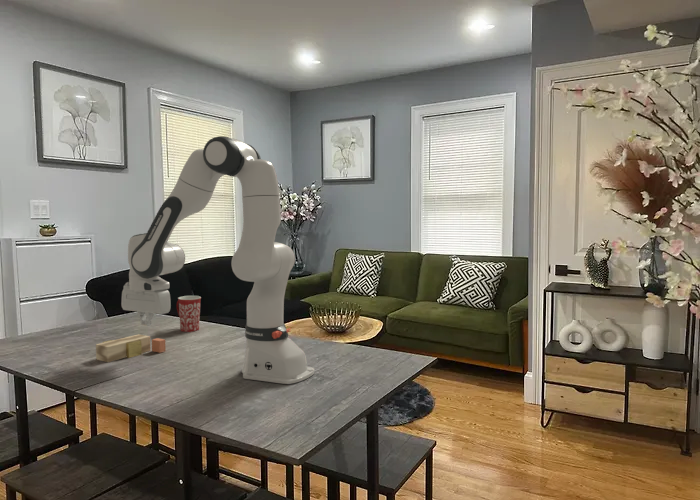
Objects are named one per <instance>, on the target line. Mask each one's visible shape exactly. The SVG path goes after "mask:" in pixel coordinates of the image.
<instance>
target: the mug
mask: <svg viewBox="0 0 700 500" xmlns="http://www.w3.org/2000/svg"><path fill="white" fill-rule="evenodd" d="M177 299H178V300H177V301H176V310H177V311H176V312H177V315H178V318H179V324H180V325H179V327H180V331H181V332H186V333H191V332H196V331H199V330H200V317H201V316H200V315H201V299H202V297H201V296H199V295H184V296H179V297H177Z"/></svg>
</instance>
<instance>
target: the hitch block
mask: <svg viewBox="0 0 700 500" xmlns="http://www.w3.org/2000/svg"><path fill="white" fill-rule="evenodd" d="M112 340H113V341H108V340H107V341H108V342H104V341H103V342H104V343H103V342H100V343H96V344H95V355H96V356H95V357H96V358H95V360H96V361H100V362H101V361H102V362H105V363H111V362H113V361H114V362H115V361H117V360H118V361H119V360H122V359H125V358H127V356H126V343H130V342H134V341H138V340H140V341H141V350H142V354H143V353H147V352H150V351H151V336H149V335H145V334H135V335H129V336H125V337H121V338H117V339H112Z"/></svg>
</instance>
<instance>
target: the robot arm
mask: <svg viewBox="0 0 700 500" xmlns="http://www.w3.org/2000/svg"><path fill="white" fill-rule="evenodd" d="M223 176H228V177H234V178H237V179H238V180H239V182H240V185H241V199H242V201H241V202H242V218H243V219H242V220H243V223H242V232H241V237H240V241H239V244H238V247H237V249H236V251H235V252H234V253H233V256H232V258H231V261H230V263H231V269H232V272H233V274H234V275H235V277H236V278H238V279H239V280H241V281H244V282H251V283H253V287H252V289H251V291H250V293H249V295H248V297H247V299H246V324H245V326H244V327H245V329H244V333H245V338H246V339H245V340H246V343H245V350H244V351H245V353H244V359H243V364H242V368H241V373H242V379H243V380H244V379H245V380H254V381H260V382H261V381H262V382H266V383H267V382H269V383H276V384H283V385H291V384H296V383H299V382H302V381H304V380H306V379H308V378H310V377H311V376H313V375H314V374H315V368H314V367H311V366H308V363H307V356H306V353H305V351H304V350H303V349H302V348H301V347H300V346H298V344H296V342H294V341H293V340H292V339H291V338H290V336H289V333H290V332H292V330H291V329H292V328H291V327H289V328H287V327H286V325H285V323H284V314H285V313H284V310H285V307H284V306H285V305H284V304H285V294H286V289H287V285H288V281H289V277H290V274H291V271H292V269H293V268H294V266H295V263H296V262H295V261H296V256H295V253H294V251H293V249H292V248H291V247H290V246H288V245H286V244H284V243H281V242H278V241H276V234H277V230H278V228H279V227H280V225H281V222H282V214H281V199H280V186H279V180H278V176H277V172H276V168H275V166H274V165H273V163H272V162H270V161H268V160H266V159H261V155H260V153H259V152H258V150H257V149H256V148H255V147H253V146H252V145H251V144H248V143H245V142H244V141H242V140H240V139H235V138H232V137H228V136H216V137H212V138H210V139H209V140H208V141H207V142H206V143H205V145H204V147H203V148H198V149H196V150H194V151H193V152H192V153H191V154H190V155H189V157H188V159H187V160H186V162H185V164H184V165H183V168H182V169H181V172H180V174H179V176H178V177H177V178H178V179H177V181H176V183H175V184H174V187H173V189H172V191H171V192H170V194H169V196H168V197H167V198H166V199H165V200H164V202H163V203H162V205H160V208H159V209H158V211H157V213H156V215H155V217H154V218H153V221H152V222H151V224H150V226H149V228H148V230H147V231H146V232H145V233H139V234H134V235H132V236H131V237H130V239H129V240H128V245H127V246H128V247H127V262H128V264H129V272H128V279H129V280H128V281H127V282H125V284H124V285H123V289H122V291H121V303H120V304H121V308H122V310H123V311H129V312H131V311H132V312H137V316H138V318H139V320H140V325H141V326H144V327H150V326H152V319H153V317H154V314H156V315H165V314H168V313H169V312H170V311H171V306H172V305H171V294H170V291H169V289H170V282H169V281H167V280H165V279H163V278H161V277H160V276H163V275H168V274H172V273H175V272H178V271H180V270H181V269H182V268H183V267H184V266H185V263H186V254H185V251H184V249H183V248H182V247H181V245H179V244H176V243H171V242H169V241H168V240H169V239H170V237H171V236H172V233H173V231H174V229H175V228H176V227H177V225H178V224H179V223H180V222H181V221H182V220H184V219H186V218H188V217H189V216H192V215H195V214H197V213H200V212H201V211H203V210H204V209H206V207H207V205H208V204H209V202H210V201H211V199H212V196H213V194H214V192H215V189H216V186H217V185H218V184H217V183H218V182H219V180H220V179H221V178H222V177H223Z"/></svg>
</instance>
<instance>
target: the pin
mask: <svg viewBox="0 0 700 500" xmlns="http://www.w3.org/2000/svg"><path fill="white" fill-rule="evenodd" d="M113 340H114V339H110V340H106V341H105V340H104V341H102V343H104V342H108V341H113ZM142 354H143V353H142V350H141V341H140V340H138V341H134V342H130V343H126V358H127V359H130V358H133V357H138V356H141V355H142Z"/></svg>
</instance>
